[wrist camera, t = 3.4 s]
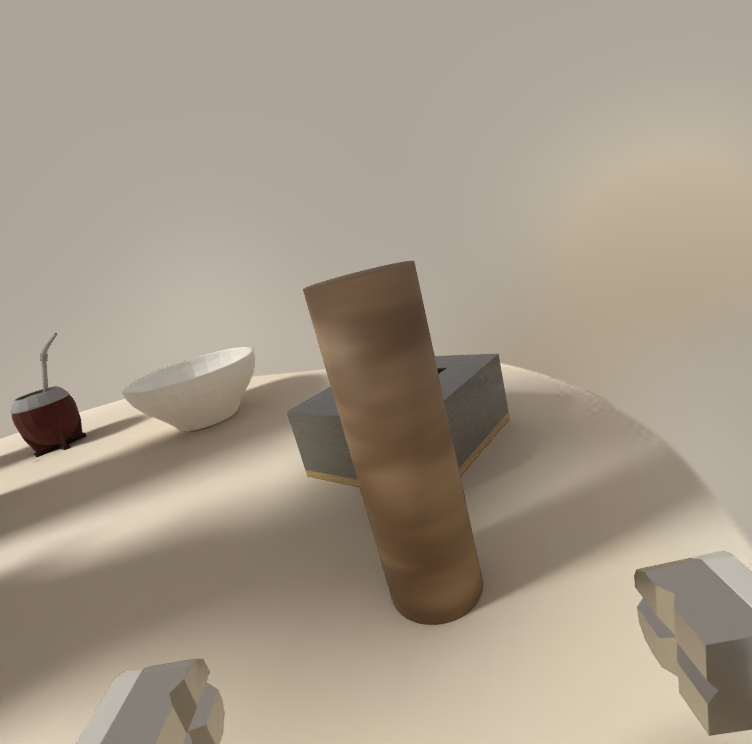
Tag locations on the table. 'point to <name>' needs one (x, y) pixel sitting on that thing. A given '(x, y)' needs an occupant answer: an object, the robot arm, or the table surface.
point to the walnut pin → (399, 437)
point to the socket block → (462, 402)
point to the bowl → (195, 389)
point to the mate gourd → (47, 415)
